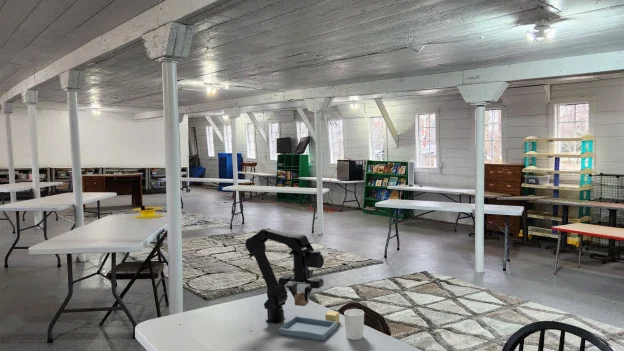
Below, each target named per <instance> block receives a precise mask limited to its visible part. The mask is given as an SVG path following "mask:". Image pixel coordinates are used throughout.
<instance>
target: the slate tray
mask: <svg viewBox="0 0 624 351" xmlns="http://www.w3.org/2000/svg"><path fill="white" fill-rule="evenodd" d="M277 329H278V330H277V331H278V332H277V333H278V335H281V336H287V337H292V338H299V339H304V340H312V341H316V342H322V343H323V342H324V341H326V340H327V338H329V337H330V336H331V334H333V333H334V332H335V331H336V330H337V329H338V324H337V322H334V321H327V320H326V319H320V318H312V317H308V316H307V317H306V316H298V315H295V316H293V317H292V318H290V319H288V321H286V322H285V323H284V324H282V325H281V326H280V327H278V328H277Z"/></svg>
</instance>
